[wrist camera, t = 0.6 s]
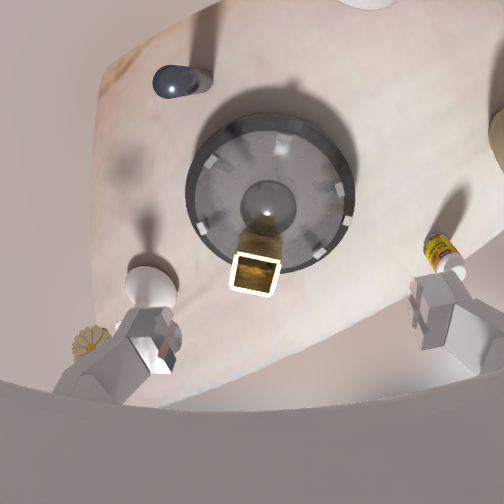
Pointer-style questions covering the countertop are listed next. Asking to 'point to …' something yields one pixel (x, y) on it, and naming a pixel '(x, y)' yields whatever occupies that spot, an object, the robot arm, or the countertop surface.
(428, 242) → the supplement bottle
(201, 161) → the housing
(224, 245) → the grey round disc
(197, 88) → the pin
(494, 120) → the planter bowl
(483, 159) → the countertop surface
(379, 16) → the countertop surface
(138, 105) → the countertop surface
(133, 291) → the flower in vase
